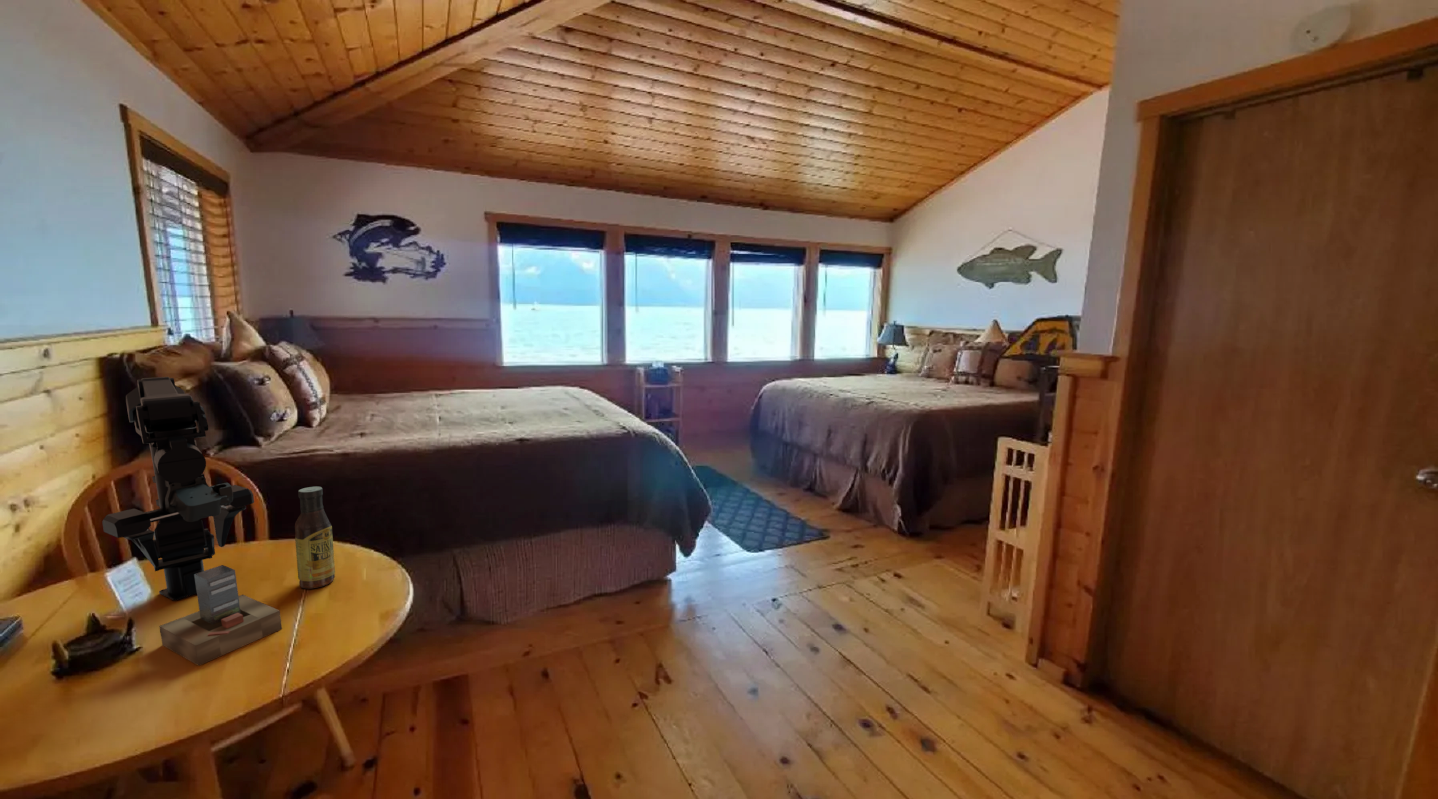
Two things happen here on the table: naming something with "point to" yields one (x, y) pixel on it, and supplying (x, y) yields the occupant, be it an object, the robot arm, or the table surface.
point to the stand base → (220, 631)
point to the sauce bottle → (313, 541)
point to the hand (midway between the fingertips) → (190, 556)
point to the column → (217, 593)
